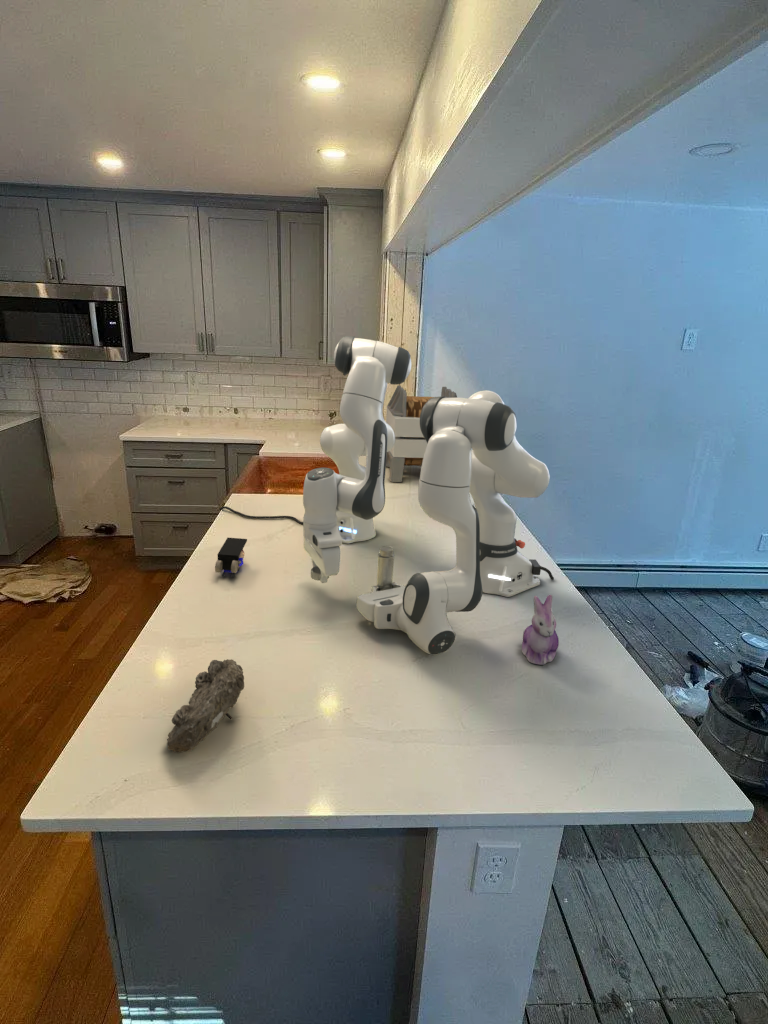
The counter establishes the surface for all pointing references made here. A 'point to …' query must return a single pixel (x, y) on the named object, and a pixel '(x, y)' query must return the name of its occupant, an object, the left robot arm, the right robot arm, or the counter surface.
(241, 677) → the fossil
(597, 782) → the counter surface
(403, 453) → the transformer
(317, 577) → the lid
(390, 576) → the beige cylinder
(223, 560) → the figurine character
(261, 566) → the counter surface
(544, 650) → the figurine
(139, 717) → the counter surface
